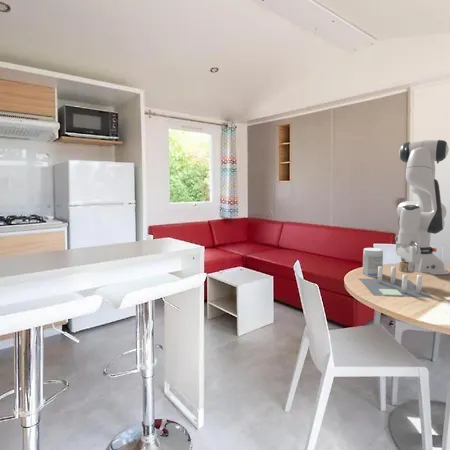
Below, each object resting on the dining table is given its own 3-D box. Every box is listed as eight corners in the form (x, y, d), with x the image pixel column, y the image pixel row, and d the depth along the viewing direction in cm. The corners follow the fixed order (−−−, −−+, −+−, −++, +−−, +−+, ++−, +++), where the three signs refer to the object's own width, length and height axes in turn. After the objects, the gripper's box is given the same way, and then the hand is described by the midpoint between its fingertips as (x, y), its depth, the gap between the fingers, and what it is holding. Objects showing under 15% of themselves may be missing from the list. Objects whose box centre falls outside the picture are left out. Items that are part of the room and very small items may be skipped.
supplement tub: (385, 277, 177) (387, 249, 176) (375, 280, 172) (376, 251, 170) (369, 273, 185) (370, 246, 184) (358, 275, 180) (359, 248, 178)
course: (408, 282, 168) (410, 264, 167) (433, 300, 142) (434, 279, 141) (358, 280, 171) (359, 263, 170) (373, 298, 146) (374, 277, 144)
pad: (396, 290, 151) (396, 289, 151) (402, 296, 144) (402, 294, 144) (378, 290, 153) (378, 288, 152) (384, 295, 145) (384, 294, 145)
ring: (410, 269, 163) (411, 261, 162) (415, 273, 157) (416, 264, 157) (397, 269, 164) (398, 261, 163) (402, 272, 158) (402, 264, 157)
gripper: (425, 243, 148) (423, 274, 150) (407, 236, 168) (405, 263, 170) (410, 243, 149) (408, 274, 151) (394, 236, 169) (392, 263, 171)
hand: (406, 268), depth 160 cm, fingers closed on ring, 6 cm apart
